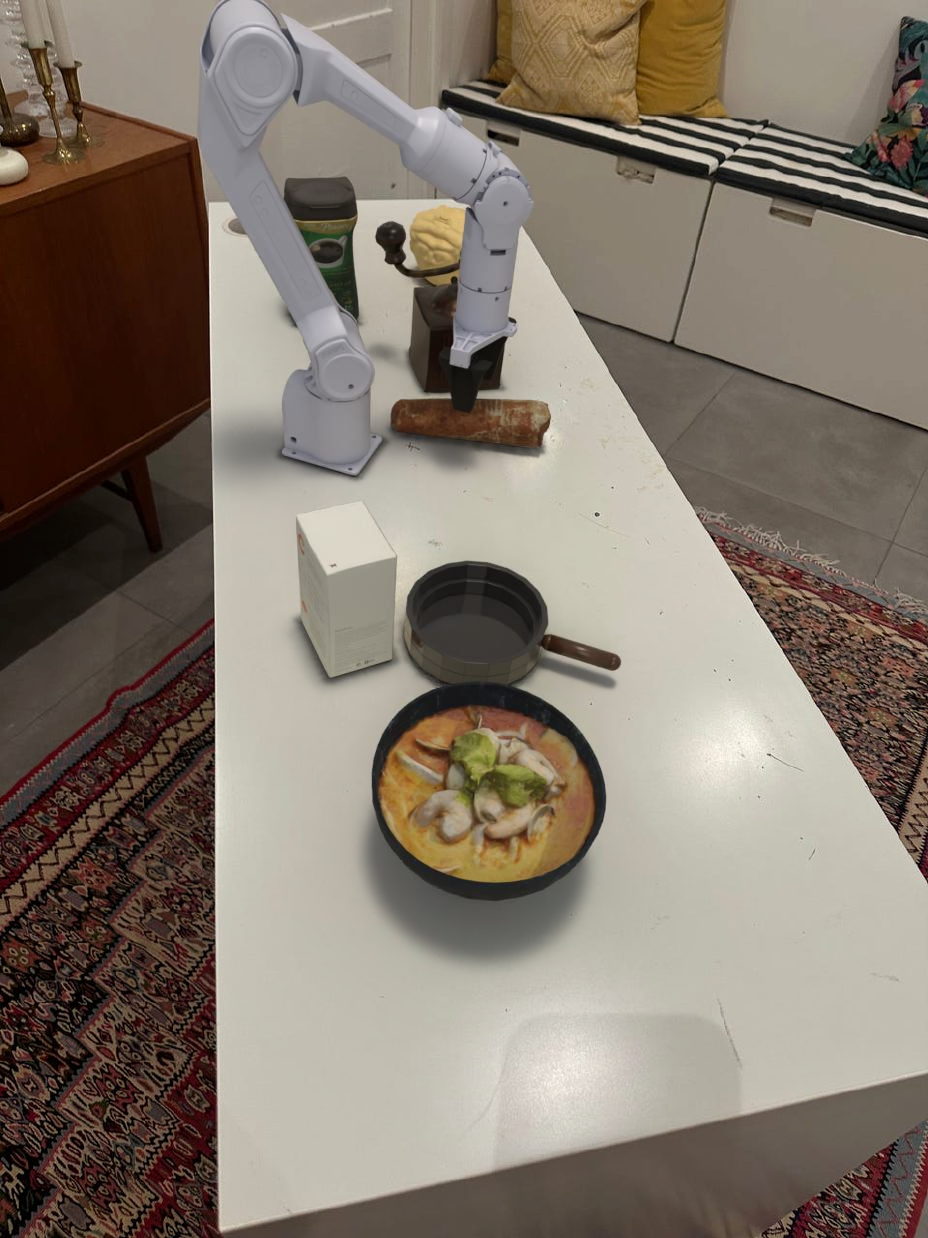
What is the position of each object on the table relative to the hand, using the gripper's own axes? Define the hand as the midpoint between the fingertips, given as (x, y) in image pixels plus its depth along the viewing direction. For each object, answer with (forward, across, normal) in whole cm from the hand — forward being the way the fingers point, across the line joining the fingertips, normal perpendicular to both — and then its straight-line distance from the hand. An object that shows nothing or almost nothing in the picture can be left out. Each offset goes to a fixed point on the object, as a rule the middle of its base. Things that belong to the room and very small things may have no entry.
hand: (473, 393), depth 101 cm
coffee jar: (+6, +19, +28) cm, 34 cm away
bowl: (+6, -51, -18) cm, 54 cm away
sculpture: (+7, +39, +16) cm, 43 cm away
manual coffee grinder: (+6, +13, +9) cm, 17 cm away
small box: (+6, -36, 0) cm, 37 cm away
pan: (+6, -31, -11) cm, 33 cm away
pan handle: (+5, -31, -21) cm, 38 cm away
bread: (+6, 0, 0) cm, 7 cm away
